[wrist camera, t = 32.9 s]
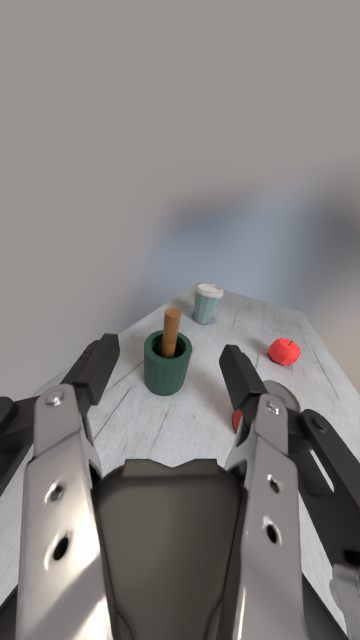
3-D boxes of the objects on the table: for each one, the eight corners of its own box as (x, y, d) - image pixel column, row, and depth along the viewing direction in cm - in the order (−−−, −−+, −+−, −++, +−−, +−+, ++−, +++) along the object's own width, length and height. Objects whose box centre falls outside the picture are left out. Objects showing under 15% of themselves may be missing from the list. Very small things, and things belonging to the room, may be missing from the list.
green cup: (138, 390, 30) (136, 358, 24) (152, 357, 38) (153, 326, 32) (181, 400, 30) (190, 369, 24) (185, 364, 38) (193, 334, 32)
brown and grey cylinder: (153, 380, 32) (157, 315, 22) (158, 364, 35) (163, 304, 25) (172, 384, 32) (184, 321, 22) (175, 368, 35) (186, 308, 25)
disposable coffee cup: (188, 323, 54) (195, 288, 46) (190, 311, 63) (197, 279, 55) (214, 329, 54) (226, 294, 46) (212, 315, 63) (223, 284, 54)
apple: (265, 361, 43) (278, 343, 39) (264, 346, 49) (276, 329, 45) (293, 373, 41) (311, 355, 36) (289, 356, 47) (304, 339, 42)
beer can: (240, 449, 24) (275, 423, 18) (226, 409, 30) (249, 377, 23) (272, 446, 25) (317, 420, 19) (253, 408, 31) (283, 377, 24)
